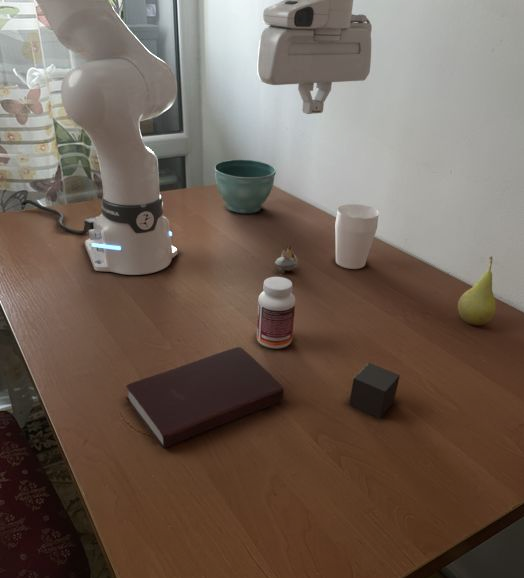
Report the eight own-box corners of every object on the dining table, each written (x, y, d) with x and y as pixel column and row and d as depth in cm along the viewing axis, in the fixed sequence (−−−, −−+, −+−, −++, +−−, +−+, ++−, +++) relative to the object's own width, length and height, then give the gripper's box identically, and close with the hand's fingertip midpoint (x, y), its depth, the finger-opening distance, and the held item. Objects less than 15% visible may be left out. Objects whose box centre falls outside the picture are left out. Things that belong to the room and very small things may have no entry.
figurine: (278, 275, 116) (280, 249, 112) (271, 267, 119) (273, 241, 116) (301, 273, 117) (303, 247, 114) (293, 264, 121) (296, 239, 117)
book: (284, 403, 80) (285, 385, 79) (164, 452, 71) (163, 433, 69) (238, 361, 89) (238, 344, 87) (125, 400, 79) (123, 382, 77)
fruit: (452, 326, 102) (468, 267, 95) (455, 308, 107) (471, 251, 101) (489, 334, 100) (509, 275, 93) (491, 316, 106) (509, 258, 99)
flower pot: (285, 209, 150) (288, 169, 144) (243, 223, 140) (245, 181, 134) (244, 194, 159) (245, 156, 153) (202, 206, 149) (201, 166, 143)
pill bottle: (299, 343, 94) (305, 286, 88) (269, 353, 91) (273, 295, 85) (278, 327, 98) (282, 271, 92) (249, 336, 95) (251, 279, 89)
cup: (352, 275, 118) (360, 222, 111) (321, 260, 123) (328, 209, 116) (378, 265, 123) (388, 213, 116) (348, 251, 128) (355, 201, 121)
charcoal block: (348, 404, 81) (353, 377, 78) (364, 388, 84) (369, 362, 82) (379, 418, 79) (385, 391, 76) (393, 401, 82) (400, 375, 79)
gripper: (358, 13, 88) (347, 105, 96) (253, 10, 78) (250, 113, 86) (386, 16, 84) (372, 112, 92) (279, 13, 74) (273, 121, 82)
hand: (312, 113), depth 89 cm, fingers closed
